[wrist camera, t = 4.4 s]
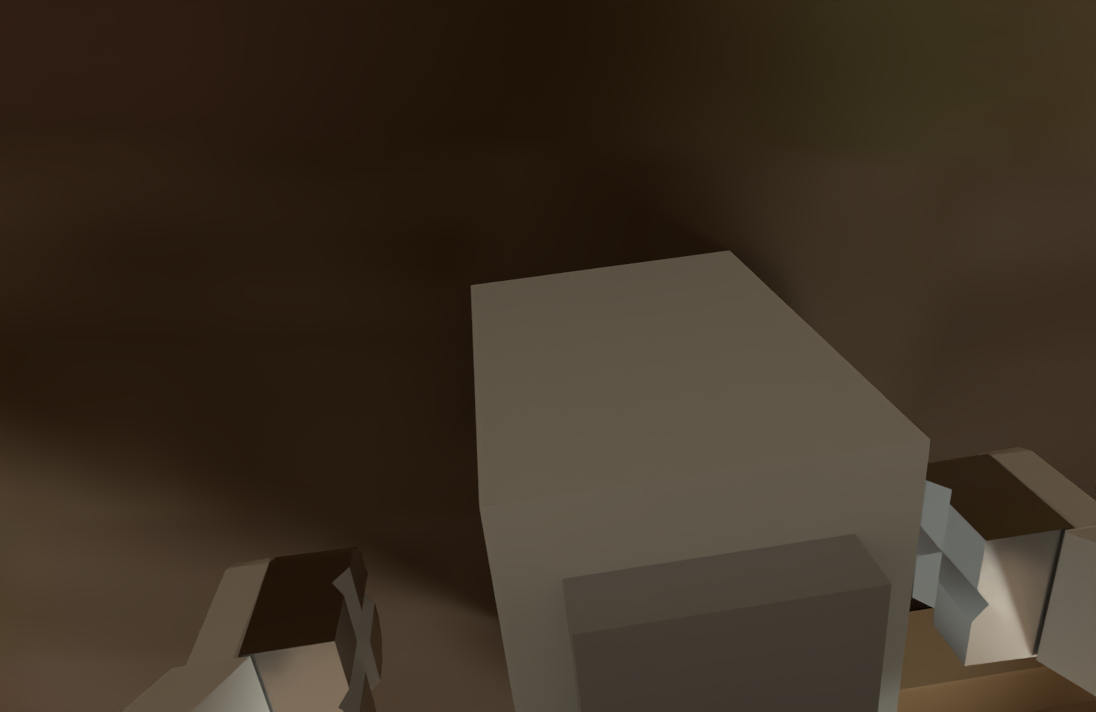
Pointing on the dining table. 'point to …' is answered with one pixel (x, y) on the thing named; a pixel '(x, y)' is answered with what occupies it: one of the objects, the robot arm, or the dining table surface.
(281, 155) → the dining table surface
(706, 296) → the plug
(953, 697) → the board
